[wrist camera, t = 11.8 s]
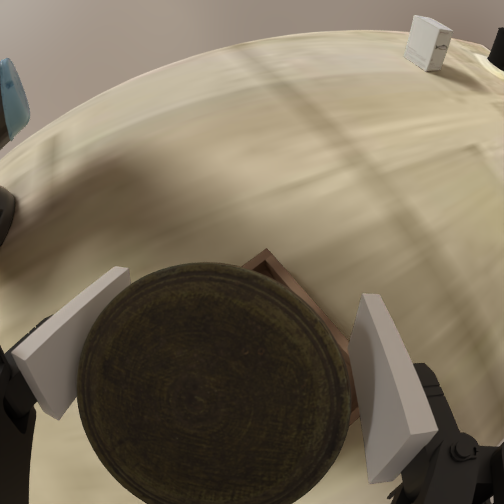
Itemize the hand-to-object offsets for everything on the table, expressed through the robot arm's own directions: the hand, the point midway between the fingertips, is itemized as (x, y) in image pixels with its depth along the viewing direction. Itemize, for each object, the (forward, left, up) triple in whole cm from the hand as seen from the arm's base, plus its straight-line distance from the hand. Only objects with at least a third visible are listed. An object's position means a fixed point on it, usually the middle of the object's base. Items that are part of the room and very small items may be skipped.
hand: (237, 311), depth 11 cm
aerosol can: (-11, +122, -15) cm, 123 cm away
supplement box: (-21, +67, -15) cm, 72 cm away
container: (+2, -2, -14) cm, 15 cm away
